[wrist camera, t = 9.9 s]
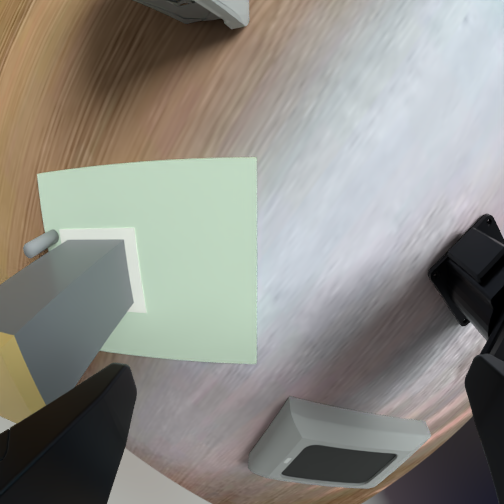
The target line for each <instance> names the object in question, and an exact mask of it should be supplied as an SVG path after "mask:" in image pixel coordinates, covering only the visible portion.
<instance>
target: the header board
mask: <svg viewBox="0 0 504 504" xmlns="http://www.w3.org/2000/svg"><path fill="white" fill-rule="evenodd" d="M37 177H38V187H39V195H40V203H41V210H42V217H43V223H44V229H45V233H44V234H42V235H40V236H39V237H37V238H35V239H33V240H31V241H30V242H28V243H26V244H25V245H24V248H23V249H24V253H25V255H26V256H27V257H28V258H33V257H34V256H36V255H37V254H39V253H40V252H42V251H44V250H45V249H47V248H48V251H51V250H52V249H54V248H56V247H57V246H59V245H60V244H62V243H64V242H65V241H67V240H106V239H124V244H125V251H126V258H127V265H128V271H129V278H130V284H131V290H132V295H133V301H134V303H133V304H132V306H131V307H130V308H129V310H128V311H127V313H126V314H125V315H124V317H123V318H122V319H121V321H120V322H119V324H118V325H117V326H116V328H115V329H114V331H113V332H112V333H111V335H110V336H109V338H108V339H107V340H106V342H105V343H104V345H103V346H102V348H101V349H100V350H99V351H105V352H112V353H120V354H127V355H135V356H144V357H153V358H163V359H174V360H186V361H199V362H215V363H236V364H256V363H257V157H228V158H194V159H173V160H157V161H143V162H130V163H119V164H109V165H99V166H90V167H82V168H74V169H66V170H59V171H52V172H45V173H40V174H37Z"/></svg>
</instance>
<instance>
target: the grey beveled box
mask: <svg viewBox="0 0 504 504" xmlns="http://www.w3.org/2000/svg"><path fill="white" fill-rule="evenodd" d="M430 437H431V434H430V431H429V429H428V427H427V424H426V422H425V421H421V420H412V419H405V418H397V417H391V416H384V415H378V414H372V413H366V412H360V411H355V410H350V409H345V408H340V407H335V406H330V405H325V404H321V403H316V402H312V401H308V400H303V399H299V398H295V397H291V396H290V397H289V398H288V400H287V401H286V403H285V404H284V406H283V407H282V409H281V410H280V411H279V413H278V414H277V416H276V417H275V419H274V420H273V422H272V423H271V424H270V426H269V427H268V429H267V430H266V432H265V433H264V434H263V436H262V437H261V439H260V440H259V441H258V443H257V444H256V445H255V447H254V448H253V449H252V451H251V452H250V454H249V461H248V468H249V470H250V471H251V472H253V473H254V474H257V475H260V476H262V477H265V478H270V479H276V480H282V481H288V482H295V483H303V484H311V485H320V486H331V487H345V488H367V489H368V488H371V487H375V486H376V485H377V484H379V483H380V482H381V481H382V480H384V479H385V478H386V477H387V476H388V475H390V474H391V473H392V472H393V471H394V470H396V469H397V468H398V467H399V466H400V465H401V464H402V463H404V462H405V461H406V460H407V459H408V458H409V457H410V456H411V455H412V454H413V453H414V452H415V451H417V450H418V449H419V448H420V447H421V446H422V445H423V444H424V443H425V442H426V441H427V440H428V439H429V438H430Z"/></svg>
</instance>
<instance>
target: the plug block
mask: <svg viewBox="0 0 504 504" xmlns="http://www.w3.org/2000/svg"><path fill="white" fill-rule="evenodd" d="M133 303H134V301H133V295H132V290H131V284H130V278H129V271H128V265H127V258H126V251H125V244H124V239H106V240H67V241H65V242H64V243H62V244H60V245H59V246H57V247H56V248H54V249H52V250H51V251H49V252H48V253H46V254H45V255H43V256H42V257H40V258H39V259H37V260H36V261H34V262H33V263H31V264H30V265H28V266H27V267H25V268H24V269H22V270H21V271H19V272H18V273H16V274H15V275H13V276H12V277H11V278H9V279H8V280H6V281H5V282H3V283H2V284H1V285H0V416H1V417H4V418H6V419H8V420H10V421H12V422H15V423H19V422H20V421H22V420H23V419H25V418H27V417H28V416H30V415H31V414H33V413H35V412H36V411H38V410H39V409H41V408H43V407H44V406H46V405H47V404H49V403H51V402H52V401H54V400H55V399H57V398H58V397H60V396H62V395H63V394H65V393H66V392H68V391H70V390H71V389H73V388H74V387H75V386H76V384H77V383H78V381H79V380H80V378H81V377H82V375H83V374H84V372H85V371H86V369H87V368H88V366H89V365H90V363H91V362H92V360H93V359H94V358H95V356H96V355H97V353H98V352H99V350H100V349H101V348H102V346H103V345H104V343H105V342H106V340H107V339H108V338H109V336H110V335H111V333H112V332H113V331H114V329H115V328H116V326H117V325H118V324H119V322H120V321H121V319H122V318H123V317H124V315H125V314H126V313H127V311H128V310H129V308H130V307H131V306H132V304H133Z"/></svg>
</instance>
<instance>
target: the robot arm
mask: <svg viewBox="0 0 504 504" xmlns="http://www.w3.org/2000/svg"><path fill="white" fill-rule="evenodd" d="M488 219H489V221H488V223H487V220H488ZM435 272H437V274H436V276H434V274H435ZM428 276H429V278H430V280H431V281H432V283H433V284H434V285H435V287H436V288H437V290H438V291H439V293H440V294H441V296H442V297H443V299H444V300H445V302H446V303H447V305H448V307H449V308H450V310H451V311H452V313H453V314H454V316H455V317H456V319H457V321H458V322H459V323H460V325H461V326H466V325H467V324H468V323H470V322H471V323H472V324H473V325H474V326H475V328H476V329H477V330H478V331H479V332H480V333H481V335H482V336H483V337H484V338H485V339H486V340H487V342H486V344H485V346H484V347H483V349H482V351H481V353H480V355H477V356H476V357H475V358H474V359H473V361H472V364H471V366H470V368H469V371H468V373H467V375H466V378H465V388H466V392H467V395H468V399H469V402H470V406H471V409H472V413H473V417H474V421H475V425H476V428H477V432H478V435H479V438H480V440H481V443H482V446H483V449H484V452H485V456H486V458H487V462H488V465H489V468H490V472H491V475H492V479H493V482H494V485H495V489H496V493H497V497H498V501H499V504H504V239H503V237H502V234H501V232H500V230H499V228H498V226H497V224H496V222H495V220H494V218H493V216H491V215H489V214H485V215H483V216H482V218H481V219H480V220H479V221H478V222H477V223H476V224H475V225H474V226H473V227H472V228H471V229H470V230H469V231H468V232H467V233H466V234H465V235H464V236H463V237H462V238H461V239H460V240H459V241H458V242H457V243H456V244H455V245H454V246H453V247H452V248H451V249H450V250H449V251H448V252H447V253H446V254H445V255H444V256H443V257H442V258H441V259H440V260H439V261H438V262H437V263H436V264H435V265H434V266H433V267H432V268H431V269H430V270H429V272H428ZM464 319H465V320H464ZM463 320H464V321H463ZM136 396H137V390H136V385H135V382H134V379H133V376H132V372H131V369H130V367H129V366H128V365H127V364H121V363H112V364H110V365H109V366H107V367H105V368H104V369H102V370H101V371H99V372H98V373H96V374H95V375H93V376H91V377H90V378H88V379H87V380H85V381H84V382H82V383H80V384H79V385H77V386H76V387H74V388H73V389H71V390H70V391H68V392H66V393H65V394H63V395H62V396H60V397H58V398H57V399H55V400H54V401H52V402H51V403H49V404H47V405H46V406H44V407H43V408H41V409H39V410H38V411H36V412H35V413H33V414H31V415H30V416H28V417H27V418H25V419H23V420H22V421H20V422H19V423H17V424H15V425H14V426H12V427H11V428H10V430H9V429H7V430H6V431H4V432H2V433H1V434H0V504H107V502H108V498H109V495H110V492H111V489H112V486H113V482H114V479H115V476H116V473H117V470H118V467H119V464H120V461H121V458H122V455H123V452H124V449H125V446H126V442H127V437H128V433H129V428H130V423H131V419H132V414H133V409H134V405H135V401H136Z"/></svg>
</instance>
